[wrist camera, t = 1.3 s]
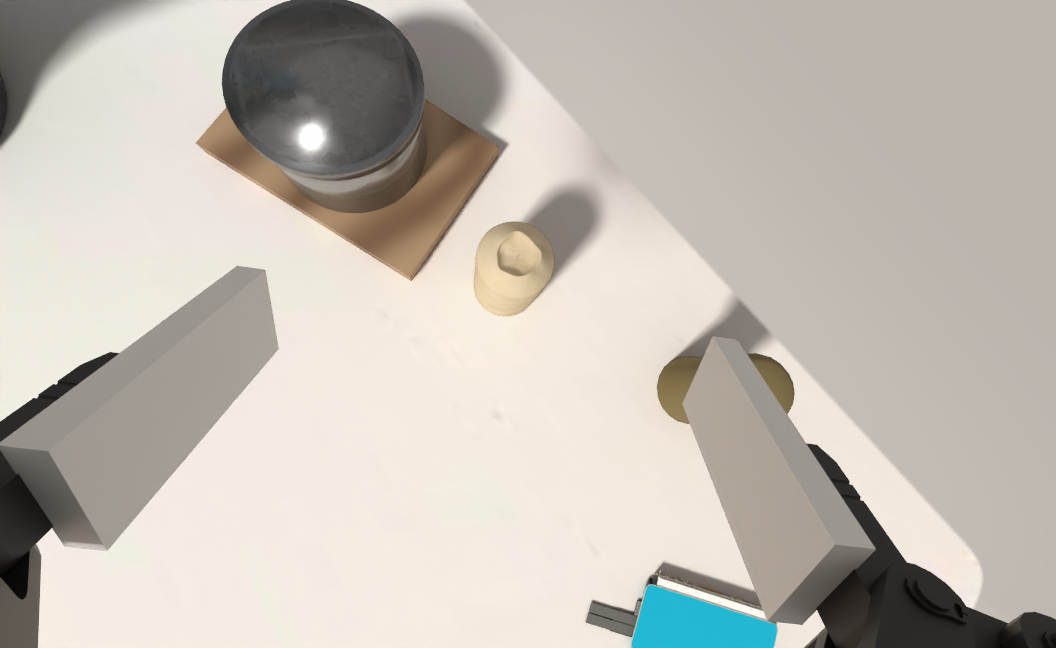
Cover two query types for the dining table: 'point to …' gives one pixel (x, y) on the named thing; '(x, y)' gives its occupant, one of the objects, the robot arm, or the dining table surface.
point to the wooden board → (398, 228)
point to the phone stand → (688, 619)
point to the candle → (512, 267)
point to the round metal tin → (330, 101)
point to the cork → (683, 371)
